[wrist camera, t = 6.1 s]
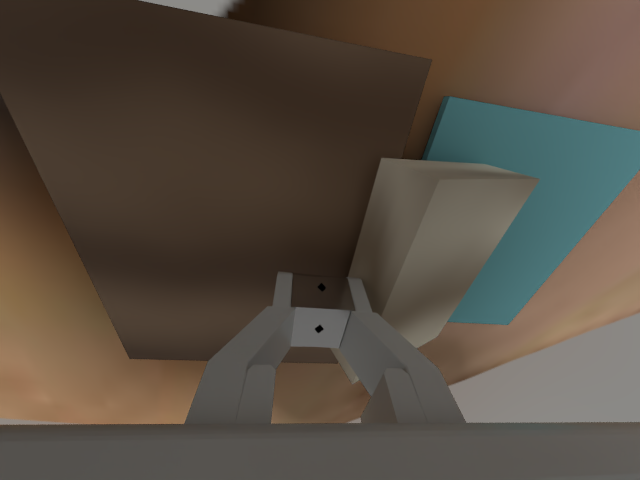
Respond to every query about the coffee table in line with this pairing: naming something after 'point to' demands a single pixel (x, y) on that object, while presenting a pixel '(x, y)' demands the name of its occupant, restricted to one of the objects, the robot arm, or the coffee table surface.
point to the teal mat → (546, 198)
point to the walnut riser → (200, 156)
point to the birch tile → (430, 239)
